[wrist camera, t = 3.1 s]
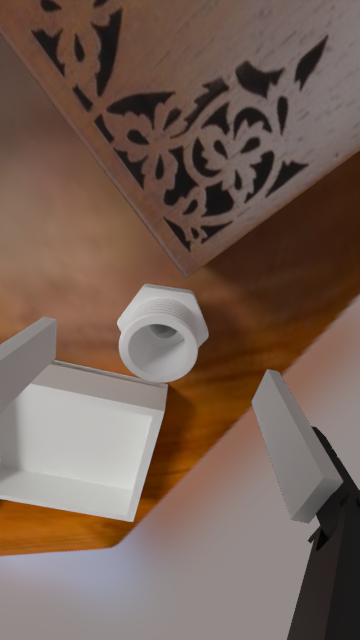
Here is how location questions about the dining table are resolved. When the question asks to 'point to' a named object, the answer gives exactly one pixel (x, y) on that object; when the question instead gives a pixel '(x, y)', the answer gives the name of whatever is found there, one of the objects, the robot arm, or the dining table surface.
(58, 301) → the dining table surface
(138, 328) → the pipe fitting
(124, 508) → the tray
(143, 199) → the tissue box cover
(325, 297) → the dining table surface
